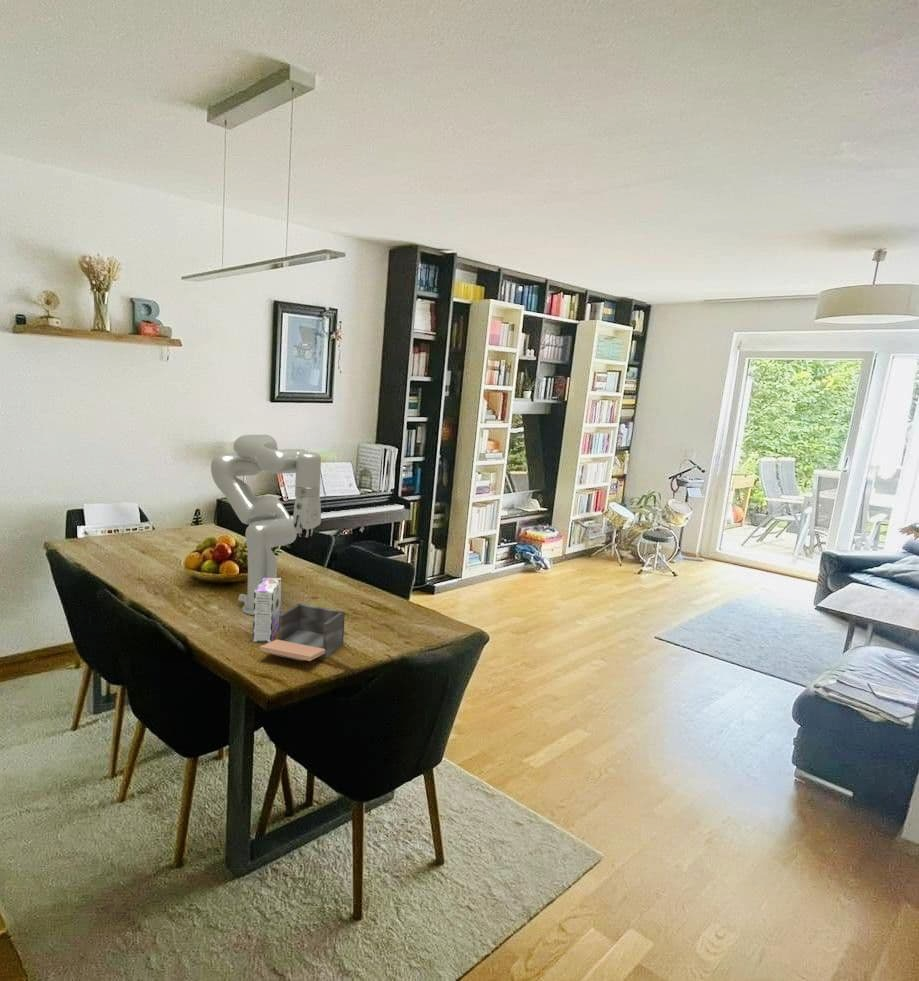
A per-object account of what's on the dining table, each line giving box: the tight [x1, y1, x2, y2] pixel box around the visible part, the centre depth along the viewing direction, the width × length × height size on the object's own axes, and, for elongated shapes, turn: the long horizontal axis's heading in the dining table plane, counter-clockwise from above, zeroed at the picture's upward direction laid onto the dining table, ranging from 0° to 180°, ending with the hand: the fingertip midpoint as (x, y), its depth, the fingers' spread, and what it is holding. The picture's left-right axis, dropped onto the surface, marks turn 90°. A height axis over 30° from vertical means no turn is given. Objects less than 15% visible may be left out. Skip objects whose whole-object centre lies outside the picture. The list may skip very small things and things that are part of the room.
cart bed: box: [277, 603, 346, 659], centre depth 187 cm, size 16×11×10 cm
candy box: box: [252, 577, 282, 643], centre depth 193 cm, size 14×6×16 cm, turn 5°
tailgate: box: [259, 639, 326, 662], centre depth 177 cm, size 16×2×9 cm
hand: (305, 548), depth 196 cm, fingers closed
